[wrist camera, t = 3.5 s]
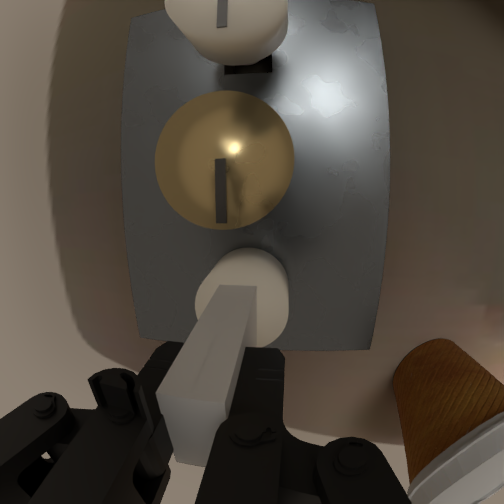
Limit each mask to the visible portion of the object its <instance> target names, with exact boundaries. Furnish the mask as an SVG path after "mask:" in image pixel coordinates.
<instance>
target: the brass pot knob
mask: <svg viewBox="0 0 504 504" xmlns="http://www.w3.org/2000/svg"><path fill="white" fill-rule="evenodd" d="M293 169H294V147H293V143H292V138H291V136H290V133H289V130H288V128H287V127H286V125H285V123H284V121H283V120H282V118H281V117H280V116H279V114H278V113H277V112H276V111H275V110H274V109H273V108H272V107H270V106H269V105H268V104H267V103H265V102H264V101H262V100H260V99H259V98H257V97H254V96H252V95H250V94H246V93H243V92H238V91H215V92H210V93H206V94H203V95H200V96H198V97H196V98H194V99H192V100H190V101H188V102H187V103H185V104H184V105H183V106H181V107H180V108H179V109H178V110H177V111H176V112H175V113H174V114H173V115H172V116H171V118H170V119H169V120H168V121H167V123H166V125H165V126H164V128H163V130H162V132H161V134H160V136H159V139H158V143H157V146H156V152H155V172H156V177H157V181H158V184H159V187H160V189H161V191H162V193H163V195H164V197H165V199H166V200H167V202H168V203H169V204H170V205H171V207H172V208H173V209H174V210H175V211H176V212H177V213H178V214H180V215H181V216H182V217H184V218H185V219H187V220H188V221H190V222H192V223H194V224H196V225H199V226H202V227H205V228H210V229H217V230H229V229H236V228H241V227H244V226H247V225H250V224H252V223H254V222H256V221H258V220H259V219H261V218H263V217H264V216H266V215H267V214H268V213H269V212H270V211H271V210H273V209H274V207H275V206H276V205H277V204H278V203H279V202H280V200H281V199H282V197H283V196H284V194H285V192H286V190H287V189H288V187H289V184H290V181H291V178H292V174H293Z"/></svg>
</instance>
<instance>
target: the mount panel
mask: <svg viewBox="0 0 504 504" xmlns="http://www.w3.org/2000/svg"><path fill="white" fill-rule="evenodd" d="M270 55H272V73H249V74H234V66H231V65H222V64H218V63H215V62H212V61H210V60H208V59H206V58H205V57H203V56H202V55H201V54H200V53H199V52H198V51H197V50H196V49H195V48H194V46H193V45H192V44H191V43H190V41H189V40H188V39H187V38H186V36H185V35H184V34H183V33H182V32H181V30H180V29H179V28H178V27H177V25H176V24H175V23H174V22H173V21H172V19H171V18H170V17H169V15H168V14H167V12H166V9H164V10H159V11H155V12H151V13H148V14H144V15H140V16H137V17H133V18H131V24H130V30H129V37H128V45H127V53H126V62H125V72H124V84H123V99H122V121H121V177H122V200H123V215H124V228H125V239H126V249H127V258H128V266H129V274H130V281H131V288H132V295H133V301H134V307H135V313H136V318H137V324H138V329H139V334H140V338H147V339H154V340H162V341H174V342H183V343H185V342H186V340H187V338H188V337H189V335H190V333H191V332H192V330H193V328H194V326H195V325H196V323H197V321H198V319H197V316H196V311H195V298H196V294H197V291H198V289H199V287H200V285H201V284H202V282H203V281H204V280H205V278H206V277H207V276H208V274H209V273H210V272H211V270H212V269H213V268H214V267H215V265H216V264H217V263H218V261H219V260H220V259H221V258H222V257H223V256H224V255H226V254H227V253H229V252H231V251H233V250H236V249H239V248H257V249H261V250H264V251H266V252H268V253H270V254H271V255H273V256H274V257H275V258H276V259H277V260H278V261H279V262H280V263H281V264H282V266H283V267H284V269H285V271H286V274H287V277H288V294H289V314H288V320H287V323H286V326H285V328H284V330H283V331H282V333H281V334H280V335H279V337H278V338H276V339H275V340H274V341H273V342H271V343H270V344H268V345H266V346H264V347H262V348H278V349H279V350H303V351H334V350H369V349H370V346H371V341H372V336H373V331H374V326H375V320H376V315H377V309H378V303H379V296H380V290H381V283H382V275H383V267H384V258H385V249H386V238H387V226H388V211H389V188H390V133H389V111H388V97H387V85H386V75H385V66H384V58H383V51H382V44H381V38H380V32H379V26H378V20H377V15H376V10H375V6H374V4H372V3H366V2H359V1H353V0H288V30H287V34H286V37H285V39H284V41H283V42H282V44H281V45H280V46H279V47H278V48H277V49H276V50H275V51H274V52H273V53H272V54H270ZM215 91H238V92H243V93H246V94H250V95H252V96H254V97H257V98H259V99H260V100H262V101H264V102H265V103H267V104H268V105H269V106H270V107H272V108H273V109H274V110H275V111H276V112H277V113H278V114H279V116H280V117H281V118H282V120H283V121H284V123H285V125H286V127H287V128H288V130H289V133H290V136H291V138H292V143H293V147H294V169H293V174H292V178H291V181H290V184H289V187H288V189H287V190H286V192H285V194H284V196H283V197H282V199H281V200H280V202H279V203H278V204H277V205H276V206H275V207H274V209H273V210H271V211H270V212H269V213H268V214H267V215H266V216H264V217H263V218H261V219H259V220H258V221H256V222H254V223H252V224H250V225H247V226H244V227H241V228H236V229H229V230H217V229H210V228H205V227H202V226H199V225H196V224H194V223H192V222H190V221H188V220H187V219H185V218H184V217H182V216H181V215H180V214H178V213H177V212H176V211H175V210H174V209H173V208H172V207H171V205H170V204H169V203H168V202H167V200H166V199H165V197H164V195H163V193H162V191H161V189H160V187H159V184H158V181H157V177H156V172H155V152H156V146H157V143H158V139H159V136H160V134H161V132H162V130H163V128H164V126H165V125H166V123H167V121H168V120H169V119H170V118H171V116H172V115H173V114H174V113H175V112H176V111H177V110H178V109H179V108H180V107H181V106H183V105H184V104H185V103H187V102H188V101H190V100H192V99H194V98H196V97H198V96H200V95H203V94H206V93H210V92H215Z"/></svg>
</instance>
